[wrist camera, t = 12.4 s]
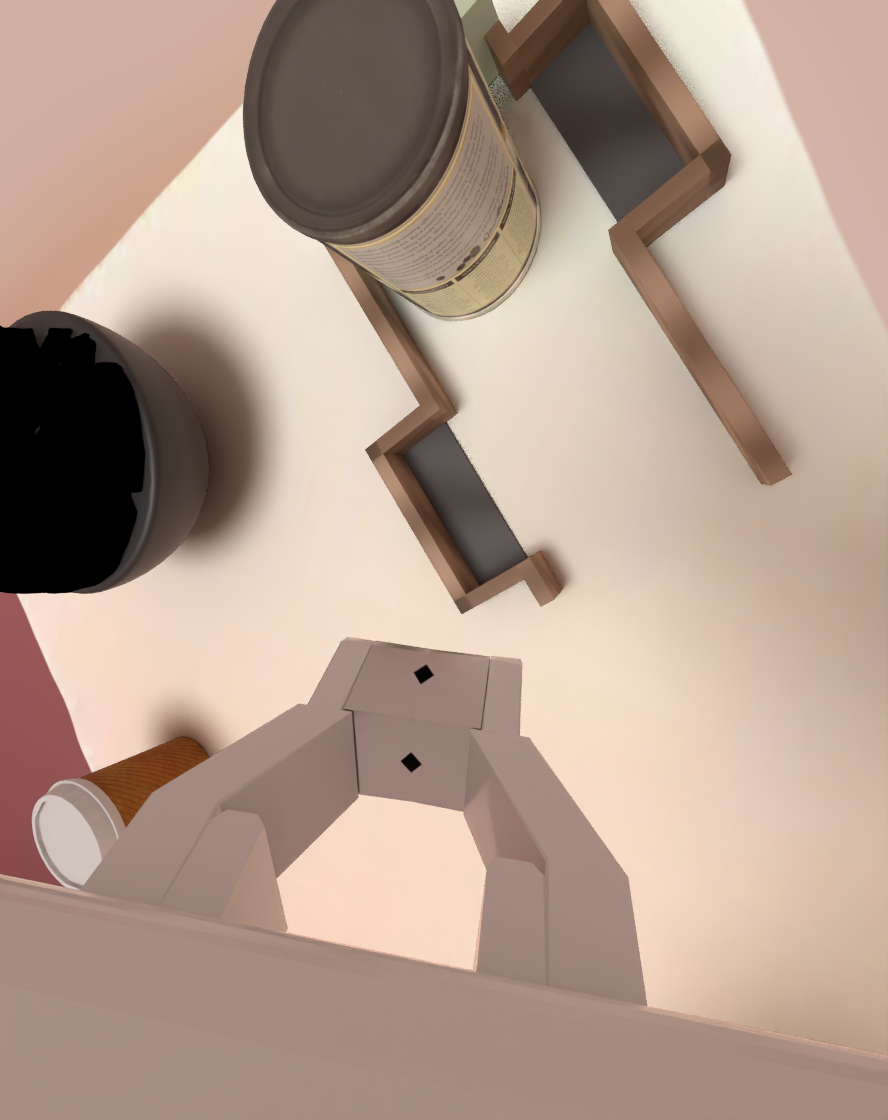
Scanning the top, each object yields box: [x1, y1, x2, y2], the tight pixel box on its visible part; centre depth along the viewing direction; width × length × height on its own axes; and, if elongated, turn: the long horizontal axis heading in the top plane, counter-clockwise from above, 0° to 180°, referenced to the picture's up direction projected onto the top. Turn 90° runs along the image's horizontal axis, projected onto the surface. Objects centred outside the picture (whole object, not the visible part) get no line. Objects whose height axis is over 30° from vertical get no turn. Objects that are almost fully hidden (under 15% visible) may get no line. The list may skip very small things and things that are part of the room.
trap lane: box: [325, 0, 792, 614], centre depth 31 cm, size 29×25×3 cm
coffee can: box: [243, 0, 541, 321], centre depth 27 cm, size 10×10×14 cm
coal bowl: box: [0, 311, 209, 594], centre depth 37 cm, size 20×20×19 cm
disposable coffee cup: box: [32, 737, 209, 890], centre depth 47 cm, size 10×10×12 cm
